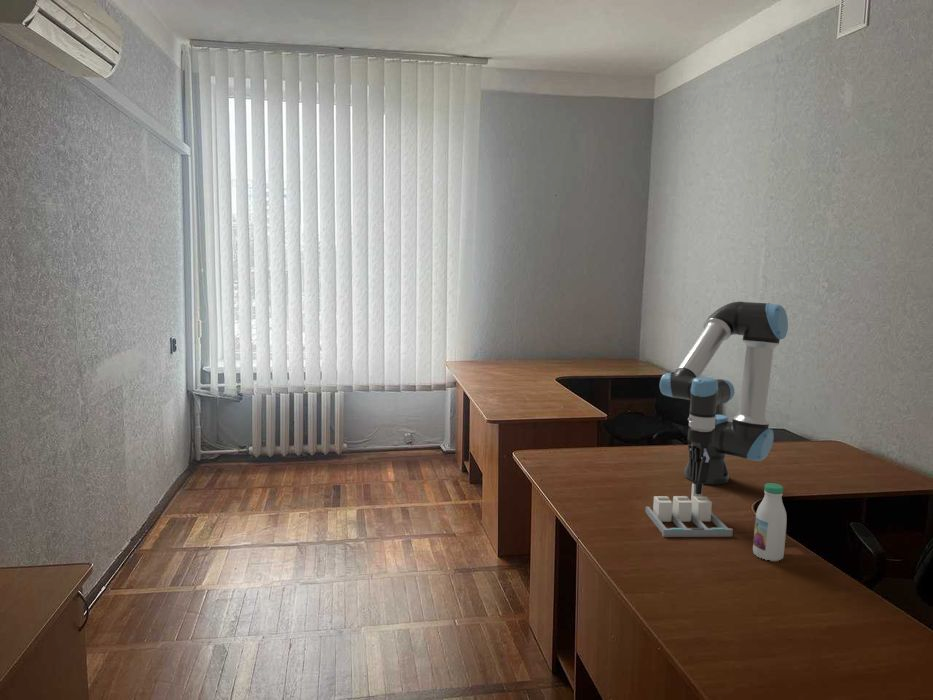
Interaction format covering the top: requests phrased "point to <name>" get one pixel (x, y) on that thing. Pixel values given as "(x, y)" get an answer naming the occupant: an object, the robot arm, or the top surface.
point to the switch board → (691, 532)
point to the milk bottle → (770, 525)
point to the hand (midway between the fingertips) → (696, 502)
